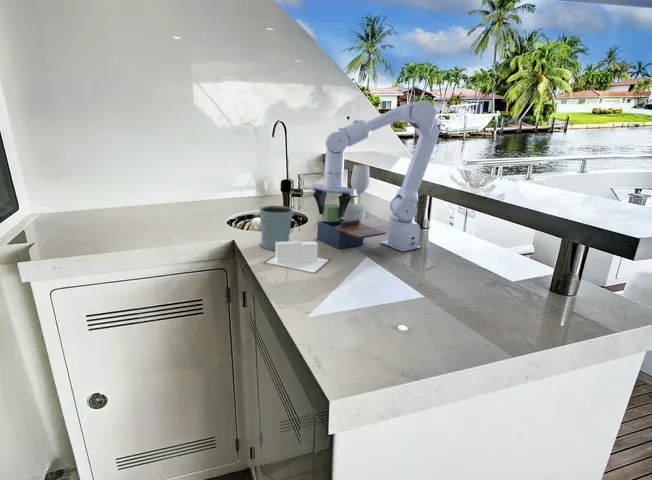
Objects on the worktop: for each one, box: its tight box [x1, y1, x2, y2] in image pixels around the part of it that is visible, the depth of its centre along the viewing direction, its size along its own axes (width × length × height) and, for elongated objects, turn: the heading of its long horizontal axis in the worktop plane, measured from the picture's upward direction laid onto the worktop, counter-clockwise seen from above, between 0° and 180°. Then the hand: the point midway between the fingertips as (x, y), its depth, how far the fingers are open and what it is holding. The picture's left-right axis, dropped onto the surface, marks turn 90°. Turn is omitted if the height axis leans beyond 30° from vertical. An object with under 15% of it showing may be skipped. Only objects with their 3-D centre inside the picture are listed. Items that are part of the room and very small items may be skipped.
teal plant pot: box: [259, 205, 294, 251], centre depth 119 cm, size 10×10×12 cm
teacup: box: [337, 203, 366, 224], centre depth 144 cm, size 14×11×8 cm
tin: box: [316, 219, 364, 250], centre depth 126 cm, size 12×10×6 cm
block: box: [321, 203, 341, 222], centre depth 121 cm, size 5×5×5 cm
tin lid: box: [333, 219, 387, 239], centre depth 117 cm, size 12×10×2 cm
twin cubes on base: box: [265, 240, 329, 273], centre depth 108 cm, size 15×11×6 cm
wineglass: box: [350, 164, 371, 218], centre depth 157 cm, size 8×8×21 cm
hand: (331, 215), depth 122 cm, fingers closed on block, 6 cm apart
